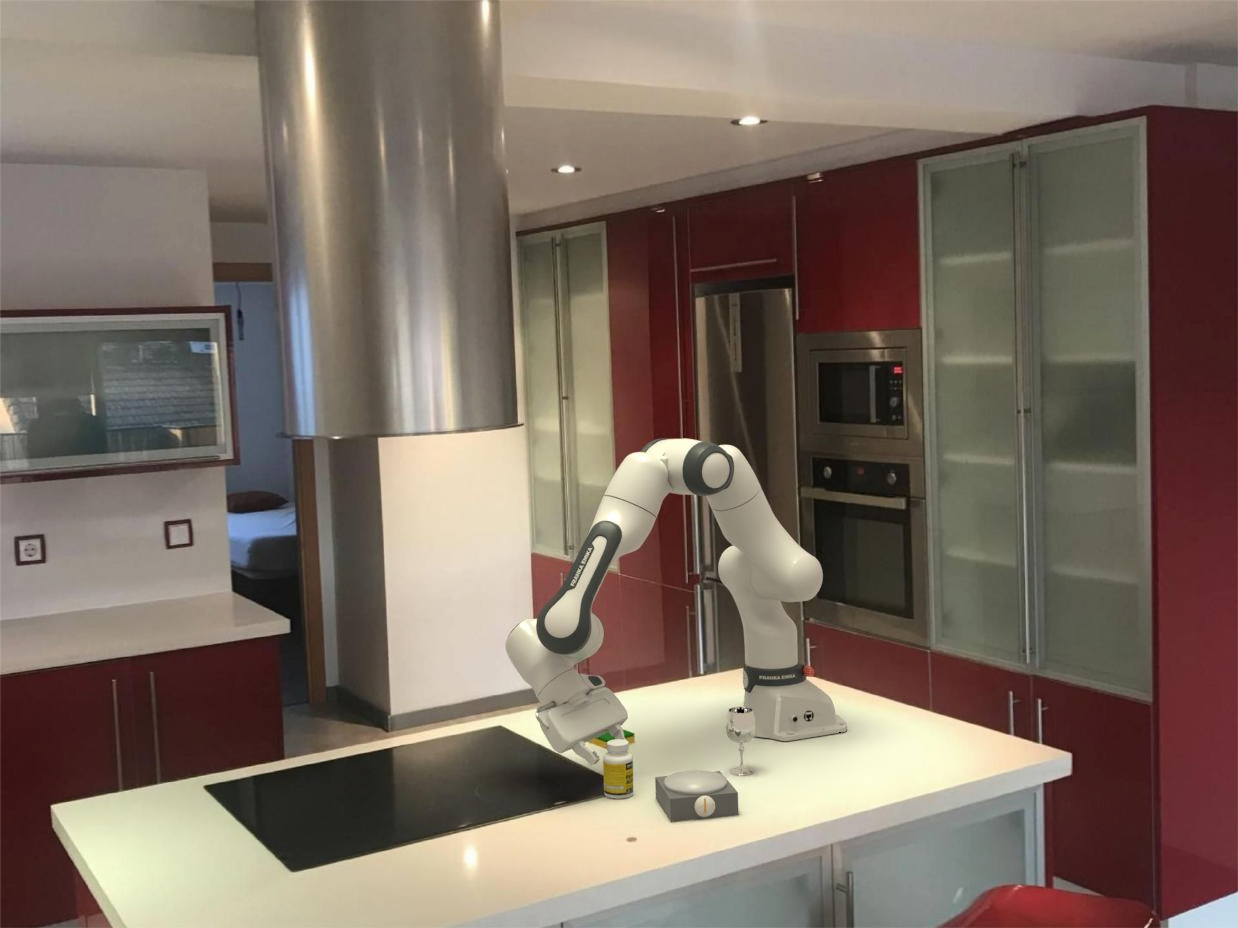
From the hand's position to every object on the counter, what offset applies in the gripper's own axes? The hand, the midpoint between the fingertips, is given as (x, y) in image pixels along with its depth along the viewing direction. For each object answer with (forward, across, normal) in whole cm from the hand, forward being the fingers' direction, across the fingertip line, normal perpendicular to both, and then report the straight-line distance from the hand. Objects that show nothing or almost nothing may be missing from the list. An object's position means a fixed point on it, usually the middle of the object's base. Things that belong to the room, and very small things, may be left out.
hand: (610, 755), depth 237 cm
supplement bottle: (+6, 0, +4) cm, 7 cm away
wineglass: (+16, +22, -6) cm, 28 cm away
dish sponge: (-10, +27, +20) cm, 35 cm away
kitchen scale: (+17, +2, -7) cm, 18 cm away
